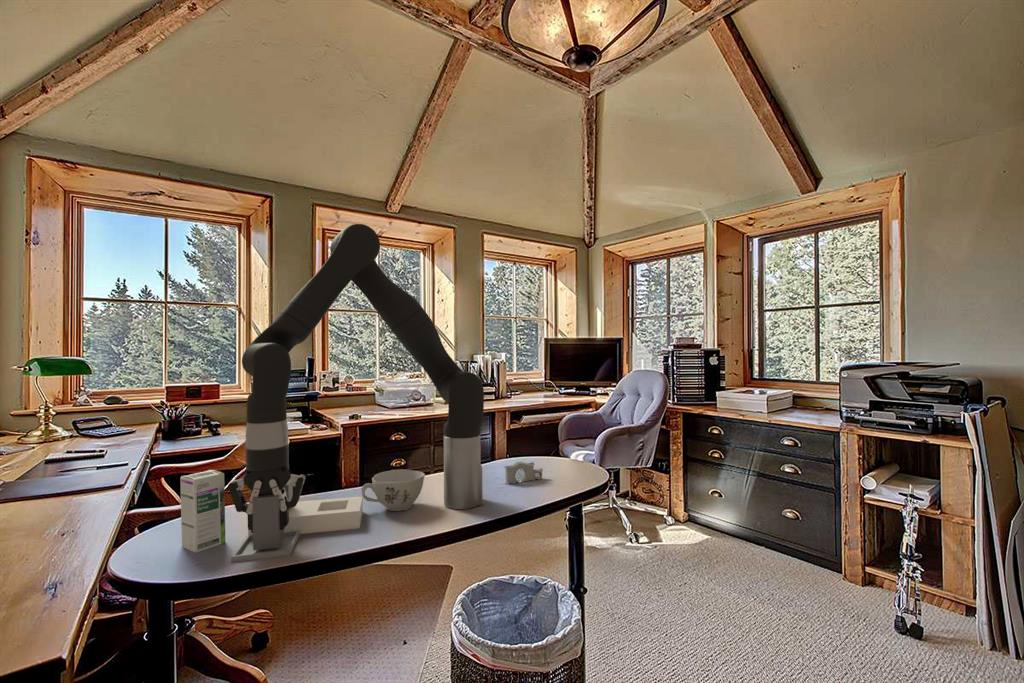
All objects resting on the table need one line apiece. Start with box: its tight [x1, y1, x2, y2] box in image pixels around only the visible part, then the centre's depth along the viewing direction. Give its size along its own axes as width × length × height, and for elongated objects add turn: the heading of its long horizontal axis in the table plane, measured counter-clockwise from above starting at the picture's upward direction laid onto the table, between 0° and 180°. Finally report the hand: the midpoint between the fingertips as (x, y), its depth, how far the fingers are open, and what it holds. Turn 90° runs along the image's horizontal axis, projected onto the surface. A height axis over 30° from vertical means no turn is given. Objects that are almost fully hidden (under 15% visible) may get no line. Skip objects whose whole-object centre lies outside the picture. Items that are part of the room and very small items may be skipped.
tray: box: [230, 530, 301, 563], centre depth 94 cm, size 10×10×1 cm
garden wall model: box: [504, 461, 544, 485], centre depth 138 cm, size 12×2×6 cm, turn 117°
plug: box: [252, 491, 284, 551], centre depth 94 cm, size 4×4×12 cm
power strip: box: [247, 480, 364, 535], centre depth 105 cm, size 22×10×12 cm, turn 104°
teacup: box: [361, 468, 426, 512], centre depth 116 cm, size 15×12×8 cm
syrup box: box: [180, 469, 226, 554], centre depth 95 cm, size 6×6×14 cm
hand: (268, 529), depth 94 cm, fingers closed on plug, 4 cm apart
